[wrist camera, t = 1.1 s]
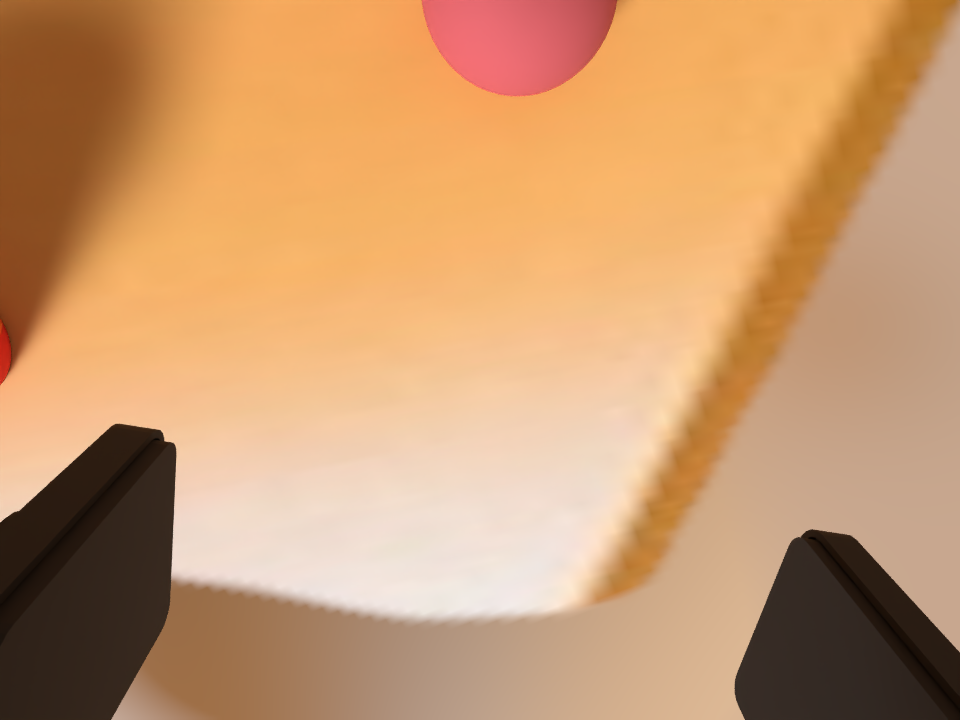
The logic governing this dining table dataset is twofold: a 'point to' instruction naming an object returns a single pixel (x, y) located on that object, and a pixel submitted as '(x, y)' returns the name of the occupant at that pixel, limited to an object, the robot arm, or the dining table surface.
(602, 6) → the ball
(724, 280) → the dining table surface
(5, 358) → the paper cup
